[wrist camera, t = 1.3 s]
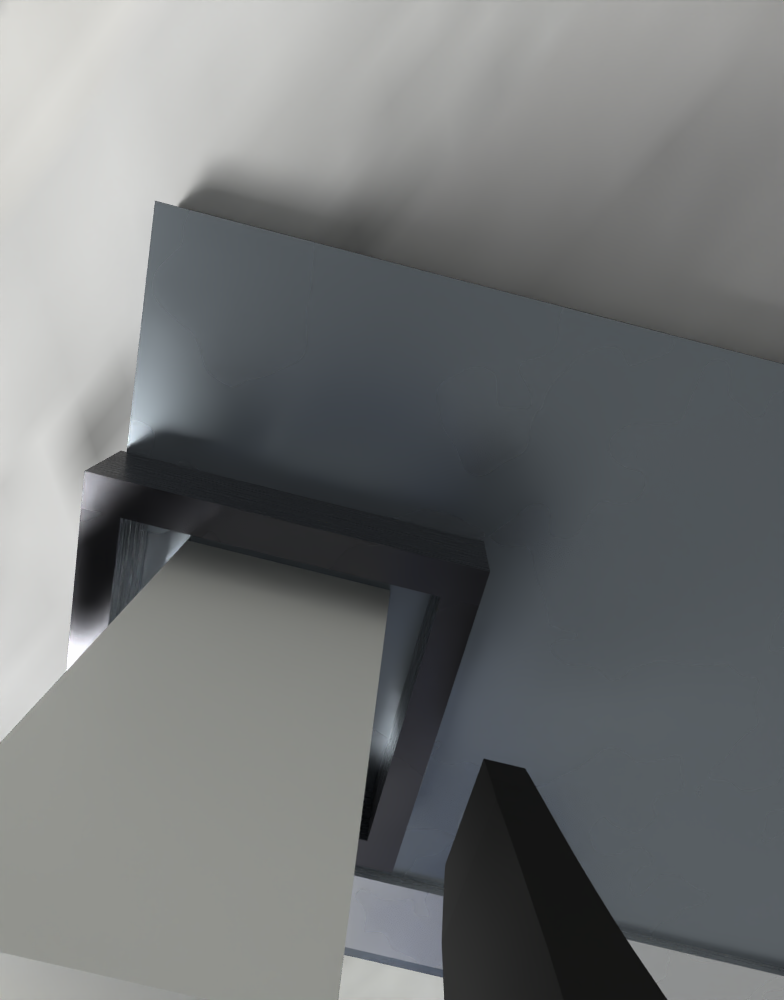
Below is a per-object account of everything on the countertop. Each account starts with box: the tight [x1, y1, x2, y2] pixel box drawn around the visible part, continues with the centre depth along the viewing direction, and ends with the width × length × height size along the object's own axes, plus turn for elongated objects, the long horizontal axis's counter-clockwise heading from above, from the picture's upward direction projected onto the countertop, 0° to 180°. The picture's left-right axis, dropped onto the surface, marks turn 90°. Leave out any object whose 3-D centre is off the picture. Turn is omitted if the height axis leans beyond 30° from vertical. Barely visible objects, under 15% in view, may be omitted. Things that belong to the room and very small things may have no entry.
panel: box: [66, 201, 784, 1000], centre depth 12 cm, size 14×22×2 cm, turn 76°
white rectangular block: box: [0, 540, 390, 1000], centre depth 8 cm, size 4×4×8 cm
